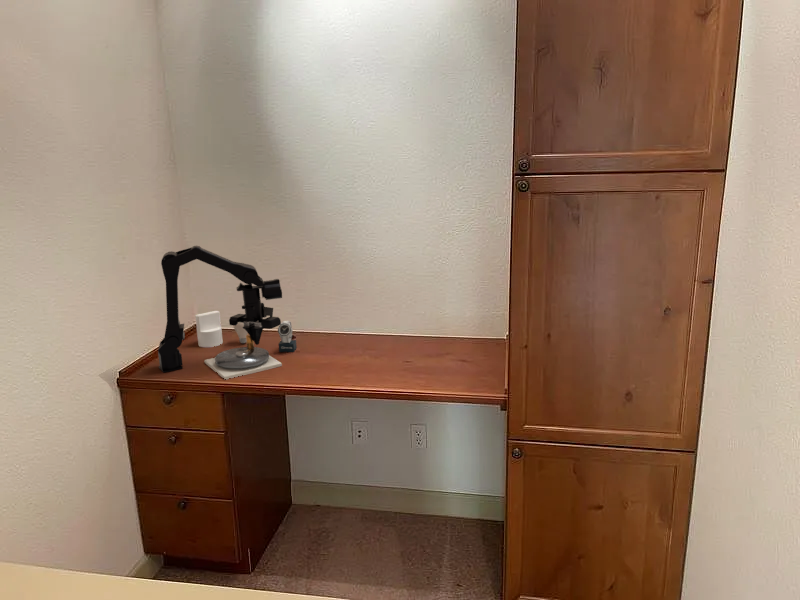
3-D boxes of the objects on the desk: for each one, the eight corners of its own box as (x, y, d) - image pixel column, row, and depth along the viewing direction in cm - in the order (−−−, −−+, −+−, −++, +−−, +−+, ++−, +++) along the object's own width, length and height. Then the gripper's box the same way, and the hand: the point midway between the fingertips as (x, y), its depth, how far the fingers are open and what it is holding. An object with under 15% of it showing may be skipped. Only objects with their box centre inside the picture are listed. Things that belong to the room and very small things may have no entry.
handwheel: (256, 370, 198) (254, 351, 197) (205, 367, 202) (203, 349, 200) (277, 352, 215) (275, 334, 214) (230, 349, 219) (228, 332, 217)
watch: (277, 353, 219) (275, 324, 216) (283, 346, 227) (281, 318, 224) (292, 353, 219) (291, 324, 216) (298, 346, 226) (296, 318, 224)
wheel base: (225, 379, 195) (224, 375, 195) (204, 362, 211) (204, 358, 211) (281, 366, 207) (281, 361, 206) (258, 350, 222) (258, 347, 222)
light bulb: (254, 340, 234) (252, 313, 231) (248, 346, 228) (246, 318, 225) (238, 340, 235) (235, 313, 232) (232, 346, 228) (229, 318, 226)
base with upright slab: (204, 348, 226) (201, 318, 223) (194, 343, 232) (191, 313, 229) (226, 343, 232) (224, 313, 229) (216, 338, 238) (213, 309, 235)
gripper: (288, 297, 212) (292, 339, 216) (246, 294, 220) (251, 335, 224) (268, 305, 203) (273, 349, 206) (225, 302, 211) (231, 344, 215)
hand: (257, 344), depth 213 cm, fingers closed
